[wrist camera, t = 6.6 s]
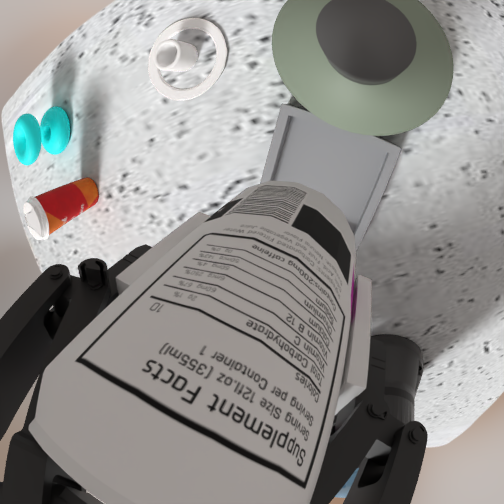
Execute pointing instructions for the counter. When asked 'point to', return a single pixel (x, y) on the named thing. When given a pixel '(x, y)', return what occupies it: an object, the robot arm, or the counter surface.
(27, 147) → the donuts
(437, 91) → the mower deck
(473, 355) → the counter surface
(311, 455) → the supplement can
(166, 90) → the candle holder
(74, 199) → the paper cup
